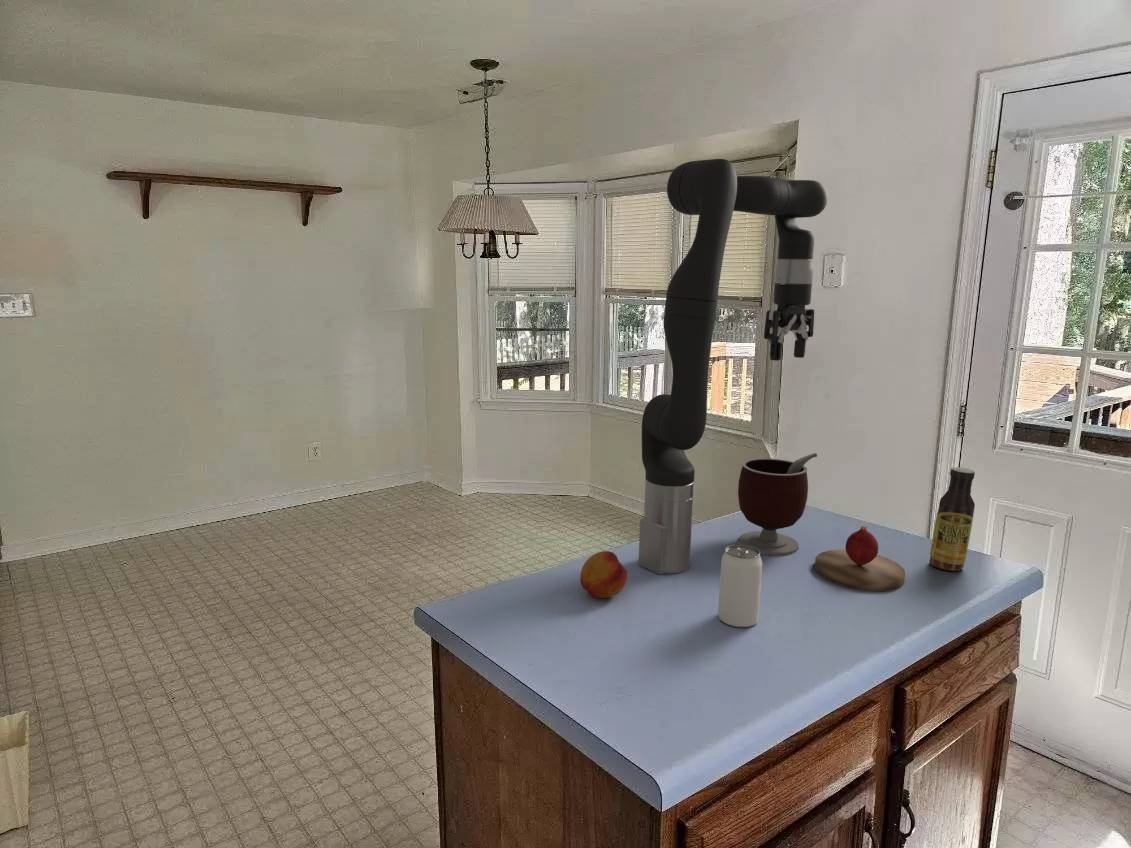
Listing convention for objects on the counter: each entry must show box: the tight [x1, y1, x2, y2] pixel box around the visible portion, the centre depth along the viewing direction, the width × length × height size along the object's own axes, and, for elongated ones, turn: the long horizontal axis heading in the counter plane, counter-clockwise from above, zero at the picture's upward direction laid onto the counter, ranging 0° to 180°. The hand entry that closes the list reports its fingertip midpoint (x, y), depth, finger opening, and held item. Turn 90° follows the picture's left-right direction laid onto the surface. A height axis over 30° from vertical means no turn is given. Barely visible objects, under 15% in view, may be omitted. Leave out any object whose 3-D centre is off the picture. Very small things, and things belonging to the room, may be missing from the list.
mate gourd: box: [737, 452, 818, 557], centre depth 151 cm, size 16×14×20 cm
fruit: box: [579, 550, 629, 599], centre depth 127 cm, size 8×8×8 cm
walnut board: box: [814, 549, 906, 592], centre depth 139 cm, size 16×16×2 cm
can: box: [717, 544, 763, 629], centre depth 118 cm, size 6×6×12 cm
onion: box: [845, 524, 879, 566], centre depth 137 cm, size 6×6×8 cm
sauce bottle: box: [929, 466, 976, 572], centre depth 140 cm, size 7×6×20 cm
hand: (787, 358), depth 155 cm, fingers open, 8 cm apart
